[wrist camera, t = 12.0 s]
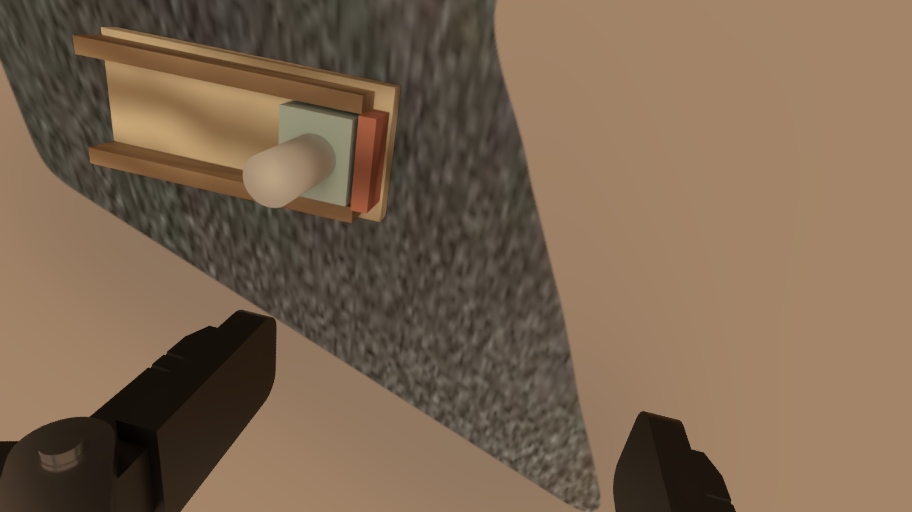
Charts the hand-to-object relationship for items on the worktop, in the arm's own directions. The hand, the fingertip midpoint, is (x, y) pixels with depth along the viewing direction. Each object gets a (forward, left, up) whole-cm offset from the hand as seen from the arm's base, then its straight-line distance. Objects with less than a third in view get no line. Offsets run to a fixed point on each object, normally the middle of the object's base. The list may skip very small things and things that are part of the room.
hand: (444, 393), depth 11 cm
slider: (+3, -13, -26) cm, 30 cm away
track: (+3, -20, -28) cm, 35 cm away
